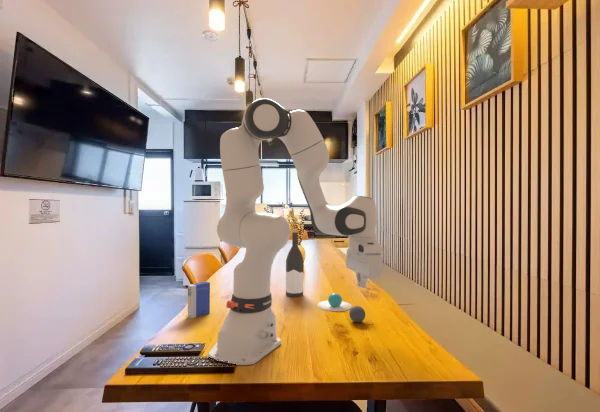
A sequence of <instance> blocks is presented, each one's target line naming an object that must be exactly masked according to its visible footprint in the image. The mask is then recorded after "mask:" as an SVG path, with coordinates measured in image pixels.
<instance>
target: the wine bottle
mask: <svg viewBox="0 0 600 412" xmlns="http://www.w3.org/2000/svg"><path fill="white" fill-rule="evenodd" d="M298 236H299V233H298V229H297V228H296V229H295V228H293V229H292V240H291V242H292V243H291V245H292V246H291V247H290V249H289V251H288V254H287V256H286V260H285V294H286V296H287V297H292V298H296V297H297V298H298V297H302V296H303V295H304V264H305V263H304V257H303V254H302V251H301V250H300V247H299V245H298V243H299V242H298V240H299V239H298V238H299V237H298Z"/></svg>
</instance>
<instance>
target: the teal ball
mask: <svg viewBox="0 0 600 412" xmlns="http://www.w3.org/2000/svg"><path fill="white" fill-rule="evenodd" d="M327 300H328V302H329V304H330V305H331V306H332V307H338V306H340V305H341V303H342V301H343V298H342V296H341V295H340V294H339V293H337V292H332V293H331V294H329V296H328V298H327Z"/></svg>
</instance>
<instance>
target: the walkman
mask: <svg viewBox="0 0 600 412" xmlns="http://www.w3.org/2000/svg"><path fill="white" fill-rule="evenodd" d="M210 306H211V283H210V282H209V281H206V280H203V281H201V282H196V283H191V284H188V285H187V317H188V318H189V319H195V318H198V317H201V316H204V315H208V314H210V313H211V311H210V309H211V308H210Z"/></svg>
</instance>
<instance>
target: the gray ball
mask: <svg viewBox="0 0 600 412" xmlns="http://www.w3.org/2000/svg"><path fill="white" fill-rule="evenodd" d="M348 315H349V318H350V321H351V320H352V322H354V323H363V321H364V320H365V318H366V312H365V309H364V308H363V307H362V306H360V305H355V306H352V308H351V309H349V314H348Z"/></svg>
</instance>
